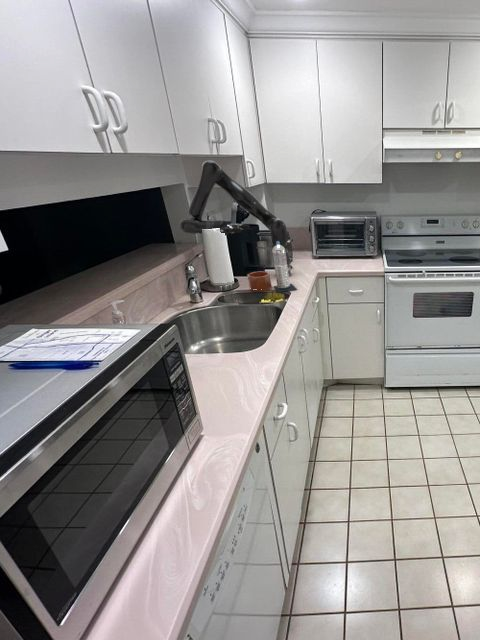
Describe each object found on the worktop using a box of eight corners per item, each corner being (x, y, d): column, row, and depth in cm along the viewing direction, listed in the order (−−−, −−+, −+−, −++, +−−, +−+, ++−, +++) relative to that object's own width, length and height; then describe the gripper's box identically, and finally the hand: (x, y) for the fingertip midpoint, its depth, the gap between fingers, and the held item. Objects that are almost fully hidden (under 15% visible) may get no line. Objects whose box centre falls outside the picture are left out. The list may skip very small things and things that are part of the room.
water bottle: (282, 290, 209) (276, 243, 196) (275, 287, 213) (268, 241, 200) (292, 287, 213) (287, 241, 201) (285, 285, 217) (279, 239, 205)
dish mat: (273, 287, 216) (273, 286, 215) (291, 284, 220) (291, 283, 219) (278, 292, 207) (278, 291, 207) (296, 289, 211) (296, 288, 211)
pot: (248, 287, 216) (246, 273, 212) (268, 284, 220) (266, 270, 217) (252, 292, 207) (250, 278, 203) (273, 289, 212) (271, 275, 208)
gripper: (207, 222, 194) (236, 223, 191) (223, 218, 206) (250, 219, 203) (210, 237, 197) (239, 239, 194) (226, 232, 210) (253, 233, 207)
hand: (245, 228), depth 199 cm, fingers open, 8 cm apart
